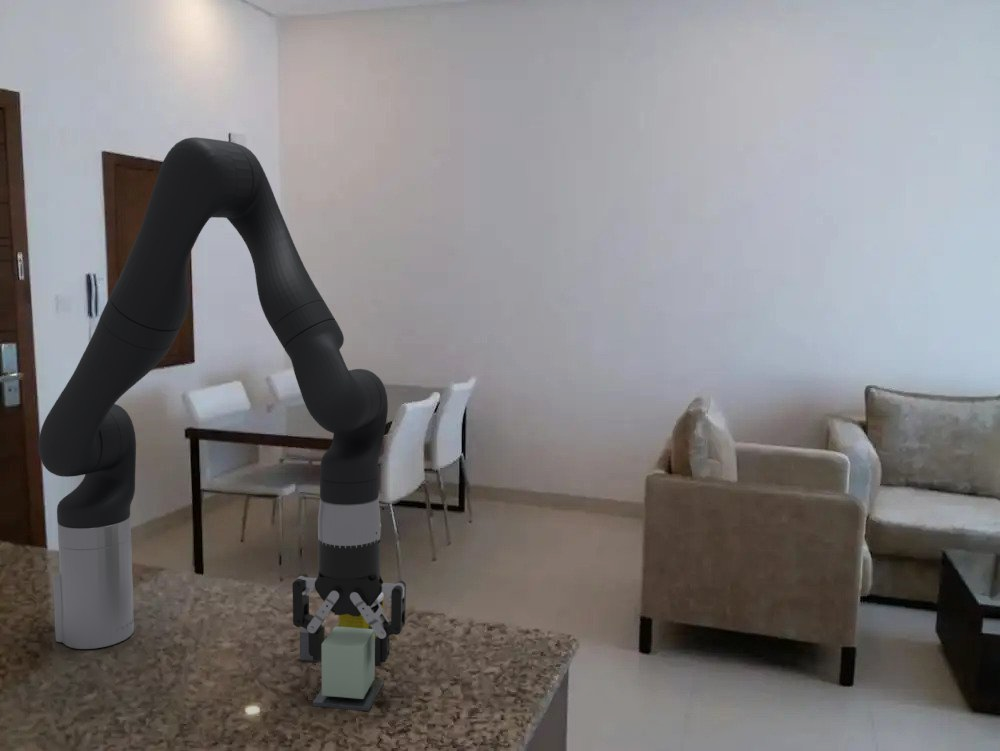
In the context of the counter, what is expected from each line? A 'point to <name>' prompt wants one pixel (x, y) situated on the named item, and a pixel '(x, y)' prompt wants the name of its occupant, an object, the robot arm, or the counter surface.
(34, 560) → the counter surface
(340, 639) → the pale green block
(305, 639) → the short post
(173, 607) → the counter surface
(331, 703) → the post on square base
